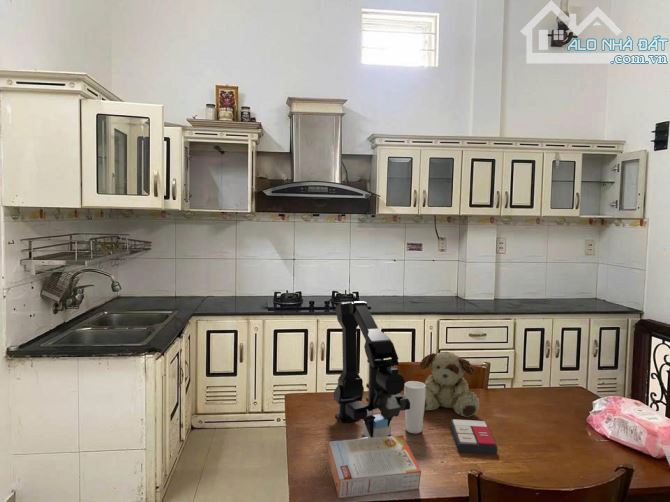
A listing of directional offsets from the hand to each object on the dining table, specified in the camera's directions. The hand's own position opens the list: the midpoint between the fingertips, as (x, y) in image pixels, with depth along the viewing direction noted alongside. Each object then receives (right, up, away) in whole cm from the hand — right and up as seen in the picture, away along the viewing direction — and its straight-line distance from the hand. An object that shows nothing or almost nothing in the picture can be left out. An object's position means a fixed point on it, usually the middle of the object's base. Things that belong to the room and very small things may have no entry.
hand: (377, 435), depth 130 cm
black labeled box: (+30, -6, +8) cm, 31 cm away
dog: (+29, -4, +35) cm, 45 cm away
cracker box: (+8, -2, -12) cm, 14 cm away
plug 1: (0, -3, 0) cm, 3 cm away
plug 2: (+1, -5, +12) cm, 13 cm away
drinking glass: (+13, -5, +15) cm, 20 cm away
